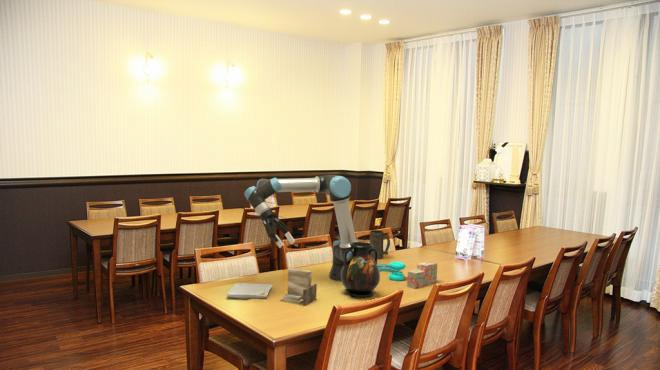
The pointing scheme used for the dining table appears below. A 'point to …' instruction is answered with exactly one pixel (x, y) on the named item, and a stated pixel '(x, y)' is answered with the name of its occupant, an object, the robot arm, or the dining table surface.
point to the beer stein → (378, 243)
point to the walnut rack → (308, 295)
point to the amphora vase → (360, 271)
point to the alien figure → (386, 268)
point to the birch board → (298, 281)
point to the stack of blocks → (422, 275)
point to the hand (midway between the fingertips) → (287, 244)
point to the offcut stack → (293, 299)
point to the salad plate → (249, 290)
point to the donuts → (397, 275)
